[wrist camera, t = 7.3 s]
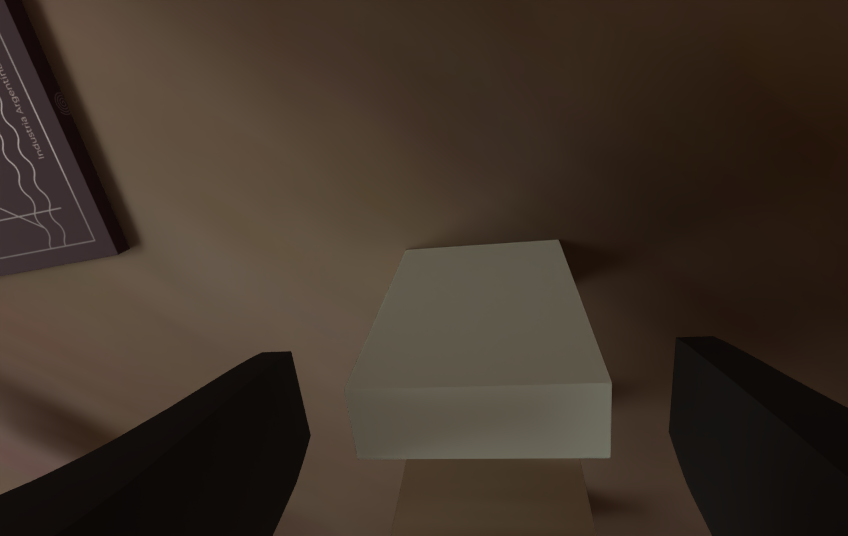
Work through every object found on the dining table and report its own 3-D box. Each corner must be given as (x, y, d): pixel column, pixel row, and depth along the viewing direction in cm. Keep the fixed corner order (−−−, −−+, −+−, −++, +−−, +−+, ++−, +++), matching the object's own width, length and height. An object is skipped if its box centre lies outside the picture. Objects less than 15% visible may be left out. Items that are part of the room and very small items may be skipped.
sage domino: (559, 287, 15) (610, 457, 9) (411, 295, 16) (357, 459, 9) (558, 239, 15) (611, 382, 8) (405, 250, 15) (343, 390, 9)
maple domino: (562, 415, 17) (606, 638, 10) (428, 417, 17) (392, 627, 11) (561, 376, 16) (607, 584, 10) (423, 379, 17) (382, 577, 10)
